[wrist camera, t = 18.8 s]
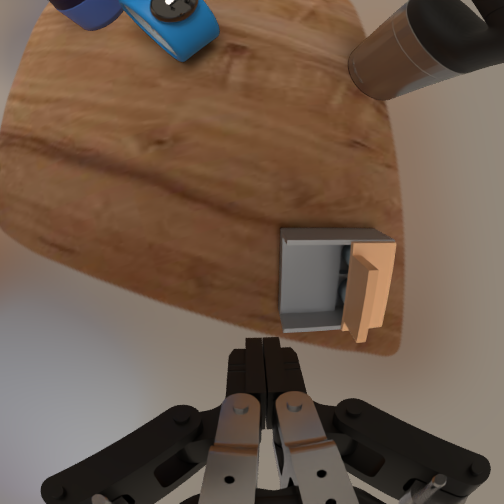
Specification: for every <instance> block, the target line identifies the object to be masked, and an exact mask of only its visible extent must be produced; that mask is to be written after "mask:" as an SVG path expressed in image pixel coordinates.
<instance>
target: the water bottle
mask: <svg viewBox="0 0 504 504" xmlns="http://www.w3.org/2000/svg"><path fill="white" fill-rule="evenodd" d="M49 1H50V2H51V3H52V4H53V6H54V7H55V8H56V9H57V10H58V11H60V12H61V13H63V14H64V15H66V16H67V17H68V18H70V19H71V20H73V21H74V22H75V23H77V24H78V25H80V26H81V27H82V28H84V29H85V30H88V31H93V30H98V29H101V28H103V27H105V26H107V25H109V24H110V23H112V22H113V21H114V20H116V19H117V18H118V17H119V16H120V15H121V13H122V12H123V11H124V10H123V8H122V7H121V6H120V4H119V0H49Z"/></svg>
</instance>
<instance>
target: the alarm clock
mask: <svg viewBox="0 0 504 504" xmlns="http://www.w3.org/2000/svg"><path fill="white" fill-rule="evenodd" d="M119 4H120V6H121V7H122V8H123V10H124V11H125V12H126V13H127V14H128V15H129V16H130V17H131V18H132V19H133V20H134V22H135V23H136V24H137V25H138V26H139V27H140V28H142V29H143V30H144V31H145V32H146V33H147V34H148V35H149V36H150V37H151V38H152V39H153V40H154V41H155V42H156V43H157V44H158V45H160V46H161V47H162V48H163V49H164V50H165V51H166V52H167V53H169V54H170V55H171V56H172V57H174V58H175V59H177V60H178V61H180V62H184V61H186V60H187V59H189V58H190V57H191V56H192V55H194V54H195V53H196V52H198V51H199V50H200V49H202V48H203V47H204V46H206V45H207V44H208V43H210V42H211V41H212V40H214V39H215V38H217V37H218V36H219V32H220V31H219V25H218V23H217V20H216V18H215V16H214V15H213V13H212V11H211V10H210V8H209V7H208V6H207V4H206V3H205V2H204V1H203V0H119Z"/></svg>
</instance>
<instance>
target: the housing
mask: <svg viewBox="0 0 504 504" xmlns="http://www.w3.org/2000/svg"><path fill="white" fill-rule="evenodd" d="M351 241H394V242H395V240H394V239H392V238H391V237H389V236H387V235H385V234H383V233H382V232H380V231H378V230H376V229H374V228H280V269H279V303H278V310H279V314H280V319H281V324H282V328H283V333H289V332H308V331H322V330H335V329H341V322H342V316H343V309H344V303H343V301H342V300H341V298H340V297H339V294H338V288H339V285H340V284H341V282H342V281H343V280H345V279H346V278H348V270H349V266H348V265H347V264H346V262H345V261H344V260H343V257H342V251H343V248H344V246H345V245H351Z"/></svg>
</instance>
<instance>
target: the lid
mask: <svg viewBox="0 0 504 504" xmlns="http://www.w3.org/2000/svg"><path fill="white" fill-rule="evenodd" d="M395 250H396V243H395V242H394V241H351V250H350V260H349V270H348V279H347V287H346V295H345V302H344V309H343V316H342V322H341V330H342V331H347V330H349V331H350V333H351V335H352V336H353V338H354V340H355V342H356V343H360V342H366V337H367V333H368V328H375V327H382V322H383V318H384V313H385V309H386V304H387V299H388V294H389V288H390V283H391V277H392V271H393V264H394V257H395Z"/></svg>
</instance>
